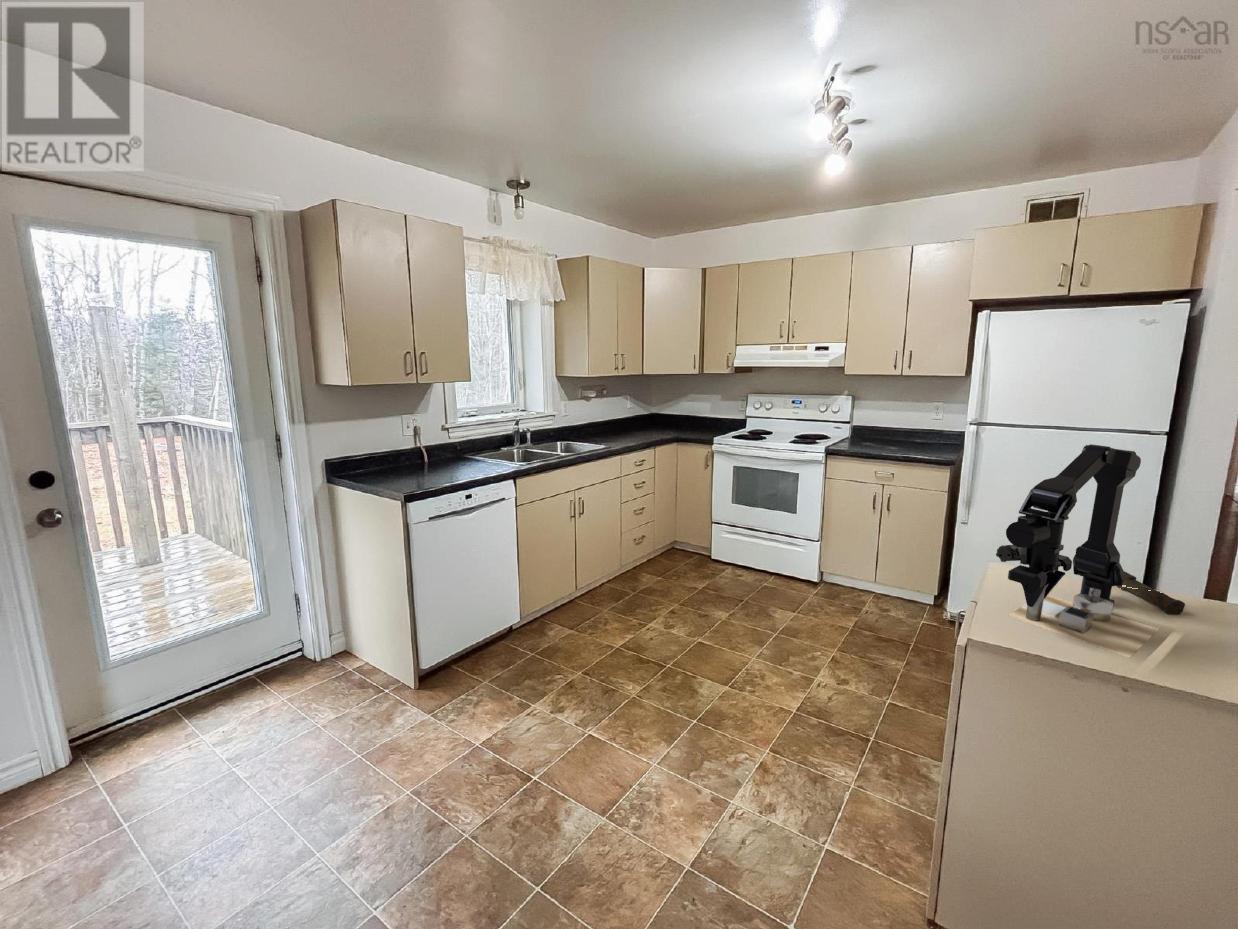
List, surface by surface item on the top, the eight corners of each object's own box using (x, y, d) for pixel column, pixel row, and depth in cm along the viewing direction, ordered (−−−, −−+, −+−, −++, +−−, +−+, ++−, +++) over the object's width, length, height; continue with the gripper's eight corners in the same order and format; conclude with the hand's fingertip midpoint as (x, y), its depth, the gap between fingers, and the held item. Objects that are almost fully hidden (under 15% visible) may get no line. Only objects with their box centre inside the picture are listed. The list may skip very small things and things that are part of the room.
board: (1041, 599, 140) (1042, 593, 140) (1157, 635, 122) (1159, 628, 122) (1007, 621, 129) (1007, 615, 129) (1128, 664, 111) (1129, 657, 111)
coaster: (1034, 600, 136) (1034, 597, 136) (1065, 609, 131) (1066, 607, 131) (1023, 607, 133) (1023, 604, 133) (1055, 617, 128) (1055, 615, 127)
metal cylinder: (1028, 614, 129) (1034, 575, 127) (1042, 619, 127) (1048, 579, 125) (1023, 617, 128) (1029, 578, 125) (1037, 622, 125) (1043, 582, 123)
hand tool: (1184, 616, 130) (1188, 598, 129) (1166, 615, 131) (1169, 598, 130) (1121, 583, 149) (1124, 567, 148) (1105, 582, 149) (1108, 567, 148)
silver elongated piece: (1078, 604, 133) (1082, 580, 132) (1115, 616, 127) (1119, 590, 126) (1052, 623, 125) (1056, 597, 123) (1090, 636, 119) (1095, 609, 118)
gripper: (1021, 522, 135) (1013, 581, 138) (986, 538, 125) (978, 600, 128) (1077, 535, 126) (1067, 597, 129) (1044, 552, 116) (1034, 619, 119)
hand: (1035, 602), depth 126 cm, fingers open, 6 cm apart
